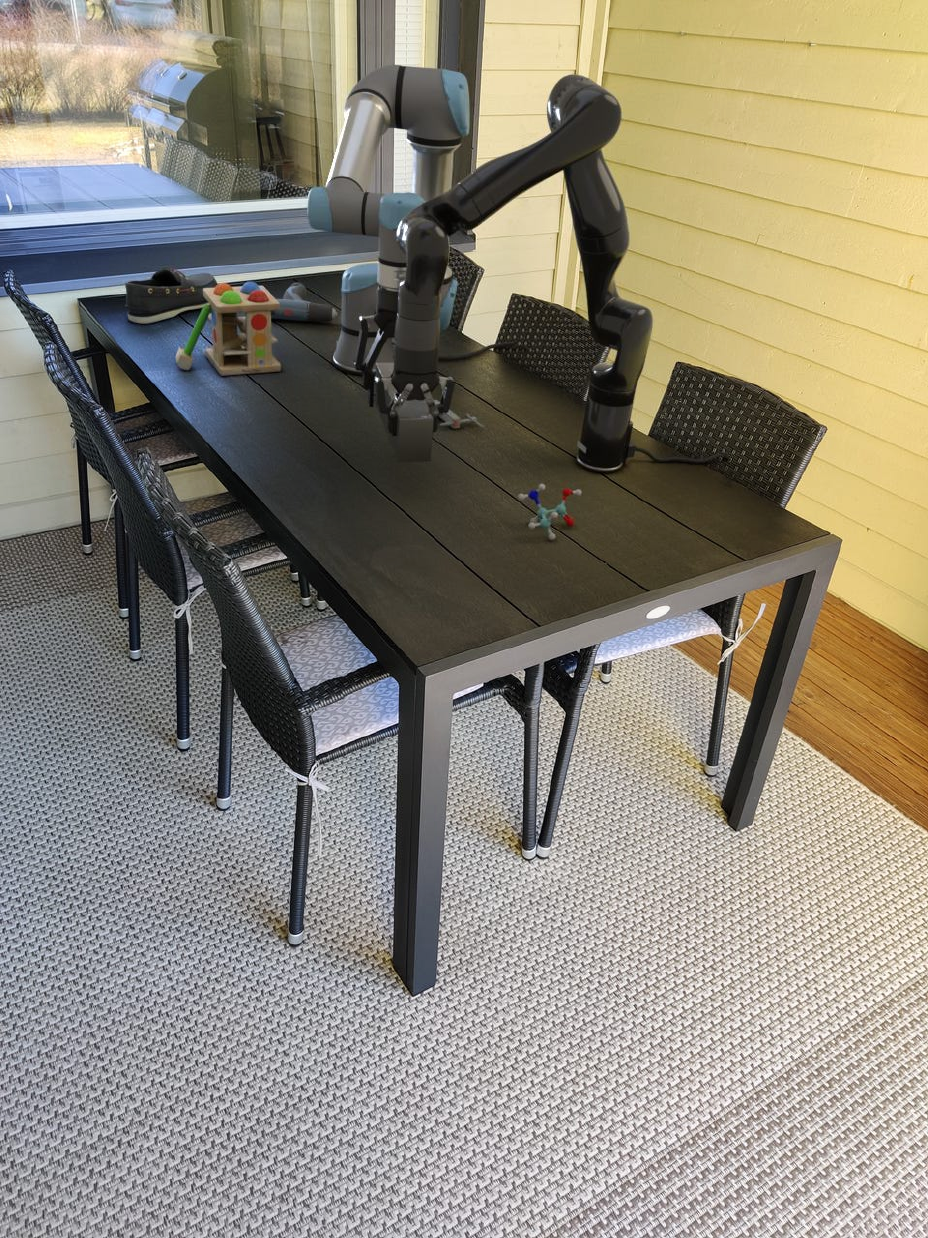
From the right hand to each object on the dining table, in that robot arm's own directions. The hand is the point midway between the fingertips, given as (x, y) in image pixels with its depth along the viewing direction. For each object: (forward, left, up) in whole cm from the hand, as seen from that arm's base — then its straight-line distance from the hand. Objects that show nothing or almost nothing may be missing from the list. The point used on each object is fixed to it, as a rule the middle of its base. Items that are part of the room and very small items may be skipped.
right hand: (412, 433), depth 174 cm
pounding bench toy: (+8, -76, -13) cm, 78 cm away
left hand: (-6, -19, -3) cm, 20 cm away
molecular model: (-18, +18, -13) cm, 29 cm away
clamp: (-25, -29, -13) cm, 41 cm away
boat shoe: (+6, -121, -13) cm, 122 cm away
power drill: (-26, -107, -13) cm, 111 cm away
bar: (-3, -10, -4) cm, 11 cm away
